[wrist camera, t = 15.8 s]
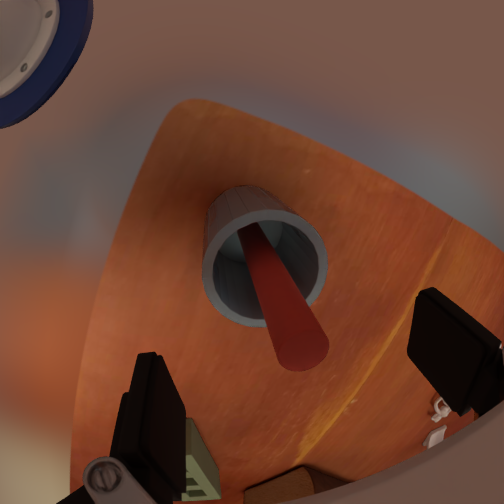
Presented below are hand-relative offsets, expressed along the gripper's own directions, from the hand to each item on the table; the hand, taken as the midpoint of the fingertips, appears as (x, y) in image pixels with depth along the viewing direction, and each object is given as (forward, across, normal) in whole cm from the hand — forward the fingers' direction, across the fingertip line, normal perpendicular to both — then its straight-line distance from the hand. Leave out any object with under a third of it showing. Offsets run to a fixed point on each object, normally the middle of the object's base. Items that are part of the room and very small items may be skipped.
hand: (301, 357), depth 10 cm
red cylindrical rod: (+17, 0, 0) cm, 17 cm away
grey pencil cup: (+17, 0, 0) cm, 17 cm away
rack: (+17, +14, +31) cm, 38 cm away
